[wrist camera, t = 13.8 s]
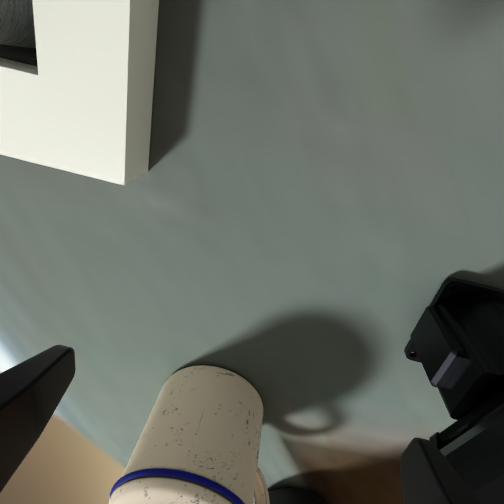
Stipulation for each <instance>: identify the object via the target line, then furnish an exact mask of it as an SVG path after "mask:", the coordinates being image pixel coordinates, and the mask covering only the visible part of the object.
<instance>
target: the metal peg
mask: <svg viewBox="0 0 504 504" xmlns="http://www.w3.org/2000/svg"><path fill="white" fill-rule="evenodd" d="M0 44H4V45H12V46H20V47H28V48H36V40H35V28H34V15H33V3H32V0H0Z"/></svg>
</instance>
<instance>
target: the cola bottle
mask: <svg viewBox="0 0 504 504" xmlns="http://www.w3.org/2000/svg"><path fill="white" fill-rule="evenodd" d="M268 494H269V502H270V504H325V503H324V502H323V501H322V500H321V499H320V498H319V497H317V496H315V495H314V494H312V493H310V492H307V491H304V490H300V489H295V488H281V489H276V490H272V491H270V492H268Z"/></svg>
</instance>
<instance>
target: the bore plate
mask: <svg viewBox="0 0 504 504" xmlns="http://www.w3.org/2000/svg"><path fill="white" fill-rule="evenodd" d="M32 3H33V15H34V28H35V40H36V52H37V65H38V67H37V66H33V65H29V64H25V63H21V62H17V61H13V60H8V59H4V58H0V154H1V155H5V156H9V157H13V158H17V159H21V160H25V161H29V162H33V163H37V164H41V165H45V166H49V167H53V168H57V169H61V170H65V171H69V172H73V173H77V174H81V175H85V176H89V177H93V178H97V179H101V180H105V181H109V182H113V183H117V184H121V185H126V184H127V183H129V182H131V181H132V180H134V179H136V178H138V177H139V176H141V175H143V174H144V173H146V172H148V164H149V148H150V133H151V117H152V102H153V86H154V71H155V55H156V39H157V24H158V8H159V0H32Z"/></svg>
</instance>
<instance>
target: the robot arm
mask: <svg viewBox="0 0 504 504" xmlns="http://www.w3.org/2000/svg"><path fill="white" fill-rule="evenodd" d="M451 285H455V286H454V287H453V288H449V287H450V286H451ZM404 352H405V355H406V357H407V358H408V359H410V360H413V361H417V362H421V363H422V365H423V367H424V369H425V372H426V374H427V376H428V379H429V381H430V383H431V385H432V386H434V387H437V388H438V389H439V392H440V394H441V396H442V399H443V401H444V403H445V405H446V408H447V410H448V412H449V414H450V416H451V418H453V419H456V420H457V421H456V422H455V423H453V424H452V425H450V426H449V427H448V428H446V429H445V430H443V431H442V432H441V433H439V432H437V433H435V434H434V435H433V436H431V437H430V441H429V440H425V439H421V438H414V439H413V440H412V441H411V443H410V444H409V445H408V447H407V448H406V450H405V451H404V452H403V454H402V456H401V459H400V471H401V482H402V493H403V504H504V290H502V289H498V288H494V287H490V286H486V285H482V284H478V283H474V282H470V281H466V280H462V279H458V278H448V279H446V280H445V281H444V282H443V283H442V285H441V287H440V289H439V290H438V292H437V294H436V295H435V297H434V299H433V301H432V302H431V304H430V305H429V306H428V307H427V308H426V309H425V311H424V313H423V315H422V316H421V318H420V320H419V321H418V323H417V325H416V327H415V328H414V330H413V332H412V334H411V339H410V341H409V342H408V344H407V346H406V347H405V350H404ZM411 352H415V353H411ZM74 374H75V353H74V350H73V348H71V347H67V346H63V345H55V346H53V347H51V348H49V349H47V350H45V351H43V352H41V353H39V354H37V355H36V356H34V357H32V358H30V359H28V360H26V361H24V362H22V363H20V364H18V365H16V366H14V367H12V368H10V369H8V370H6V371H4V372H2V373H0V492H1V491H2V490H3V488H4V487H5V485H6V484H7V482H8V481H9V480H10V478H11V477H12V475H13V474H14V472H15V471H16V470H17V468H18V467H19V465H20V464H21V463H22V461H23V460H24V458H25V457H26V455H27V454H28V452H29V451H30V450H31V448H32V447H33V445H34V444H35V442H36V441H37V440H38V438H39V437H40V435H41V433H42V432H43V430H44V428H45V427H46V425H47V423H48V421H49V420H50V418H51V416H52V414H53V413H54V411H55V409H56V407H57V406H58V404H59V402H60V400H61V399H62V397H63V395H64V393H65V392H66V390H67V388H68V386H69V385H70V383H71V381H72V379H73V377H74Z"/></svg>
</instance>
